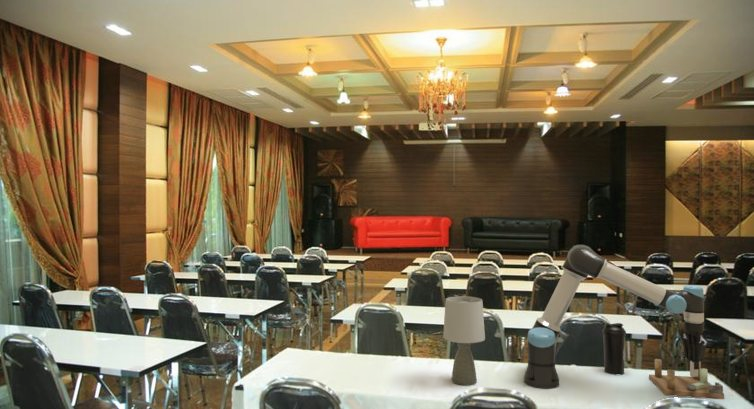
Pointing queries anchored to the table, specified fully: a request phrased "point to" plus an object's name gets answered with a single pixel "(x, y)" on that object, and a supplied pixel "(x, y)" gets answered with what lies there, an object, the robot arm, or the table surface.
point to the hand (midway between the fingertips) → (694, 376)
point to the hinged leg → (702, 383)
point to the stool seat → (683, 384)
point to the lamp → (464, 334)
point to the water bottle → (614, 348)
